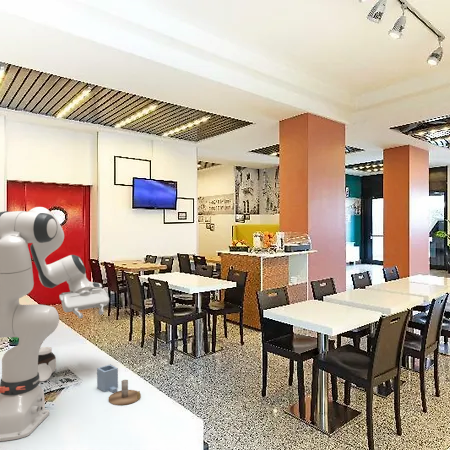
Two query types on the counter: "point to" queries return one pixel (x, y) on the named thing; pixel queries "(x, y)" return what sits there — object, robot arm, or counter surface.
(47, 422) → the counter surface
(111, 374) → the open square bin
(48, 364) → the spread jar
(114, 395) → the post plate
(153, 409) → the counter surface
